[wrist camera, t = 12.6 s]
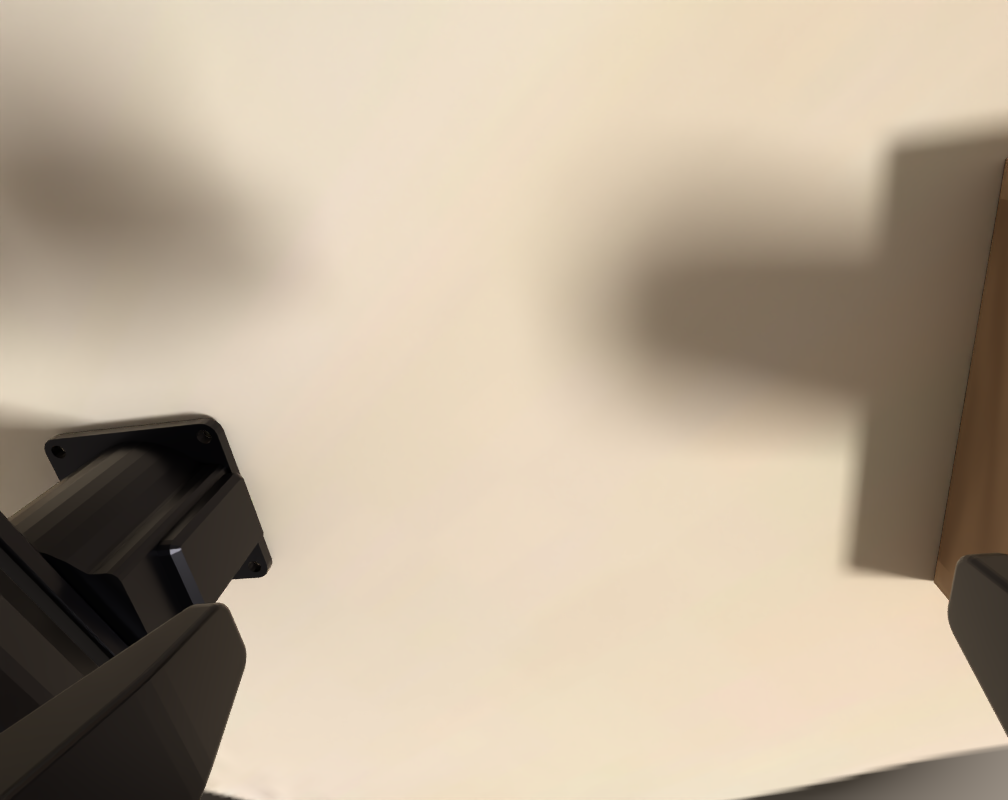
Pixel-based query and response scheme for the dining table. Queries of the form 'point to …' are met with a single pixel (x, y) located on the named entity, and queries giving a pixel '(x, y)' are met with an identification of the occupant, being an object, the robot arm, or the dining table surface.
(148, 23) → the dining table surface
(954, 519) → the tray
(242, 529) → the robot arm
